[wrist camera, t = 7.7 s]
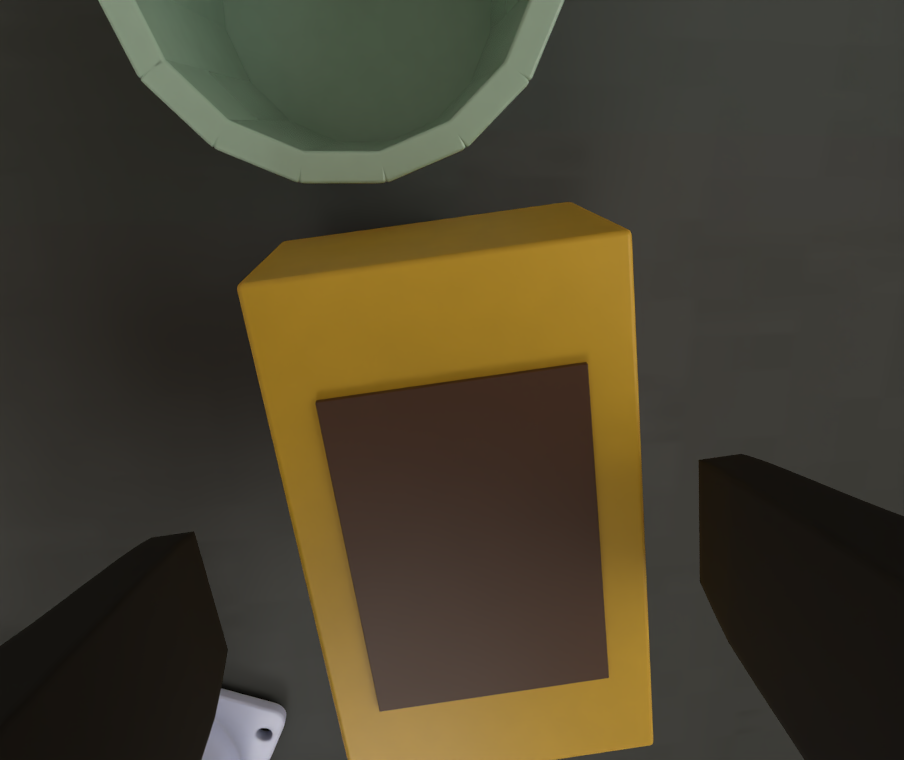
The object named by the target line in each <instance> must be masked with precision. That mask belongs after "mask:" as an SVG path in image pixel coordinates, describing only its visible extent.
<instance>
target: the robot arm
mask: <svg viewBox="0 0 904 760" xmlns="http://www.w3.org/2000/svg"><path fill="white" fill-rule="evenodd" d="M699 533H700V583H701V585H702V587H703V589H704V591H705V594H706V596H707V598H708V600H709V602H710V605H711V607H712V609H713V611H714V613H715V615H716V618H717V620H718V622H719V624H720V626H721V628H722V630H723V632H724V634H725V636H726V638H727V640H728V642H729V644H730V645H731V647H732V648H733V650H734V652H735V653H736V655H737V656H738V658H739V660H740V661H741V663H742V664H743V666H744V667H745V669H746V671H747V672H748V674H749V675H750V677H751V678H752V680H753V681H754V683H755V685H756V686H757V688H758V689H759V691H760V692H761V694H762V695H763V697H764V698H765V700H766V701H767V703H768V705H769V706H770V708H771V709H772V711H773V712H774V714H775V715H776V717H777V718H778V720H779V721H780V723H781V724H782V726H783V727H784V729H785V731H786V732H787V734H788V735H789V737H790V738H791V740H792V741H793V743H794V744H795V746H796V747H797V749H798V750H799V752H800V754H801V755H802V757H803V758H804V760H904V516H901V515H899V514H896V513H893V512H891V511H888V510H885V509H883V508H880V507H878V506H875V505H872V504H870V503H867V502H865V501H862V500H860V499H857V498H855V497H852V496H850V495H847V494H845V493H842V492H840V491H837V490H835V489H833V488H830V487H828V486H825V485H823V484H820V483H818V482H815V481H813V480H811V479H808V478H806V477H803V476H801V475H798V474H796V473H793V472H791V471H788V470H786V469H783V468H781V467H778V466H776V465H773V464H771V463H768V462H765V461H762V460H759V459H756V458H754V457H750V456H747V455H743V454H738V455H731V456H724V457H717V458H710V459H703V460H699ZM227 651H228V649H227V645H226V642H225V638H224V634H223V631H222V627H221V624H220V620H219V617H218V613H217V610H216V606H215V603H214V599H213V596H212V592H211V589H210V585H209V582H208V578H207V575H206V571H205V568H204V564H203V561H202V557H201V554H200V550H199V547H198V543H197V540H196V536H195V533H194V532H188V533H181V534H174V535H167V536H160V537H153V538H150V539H148V540H146V541H145V542H143V543H141V544H140V545H138V546H137V547H135V548H134V549H132V550H131V551H129V552H128V553H126V554H125V555H123V556H122V557H121V558H119V559H118V560H116V561H115V562H114V563H112V564H111V565H110V566H108V567H107V568H106V569H104V570H103V571H101V572H100V573H99V574H97V575H96V576H95V577H94V578H92V579H91V580H90V581H88V582H87V583H86V584H84V585H83V586H82V587H80V588H79V589H78V590H76V591H75V592H74V593H72V594H71V595H70V596H68V597H67V598H66V599H64V600H63V601H62V602H60V603H59V604H58V605H56V606H55V607H54V608H52V609H51V610H50V611H48V612H47V613H46V614H44V615H43V616H42V617H40V618H39V619H38V620H36V621H35V622H34V623H32V624H31V625H29V626H28V627H27V628H25V629H24V630H22V631H21V632H20V633H18V634H17V635H15V636H14V637H12V638H11V639H10V640H8V641H7V642H5V643H4V644H2V645H1V646H0V760H270V758H271V756H272V753H273V751H274V749H275V746H276V744H277V742H278V739H279V737H280V735H281V732H282V730H283V728H284V725H285V720H286V711H285V709H284V708H283V707H282V706H281V705H279V704H277V703H274V702H270V701H267V700H263V699H259V698H256V697H252V696H248V695H245V694H241V693H237V692H233V691H230V690H226V689H222V688H221V686H222V680H223V675H224V669H225V663H226V657H227ZM261 728H267V729H269V730H270V731H263V730H261Z"/></svg>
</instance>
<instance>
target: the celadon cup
mask: <svg viewBox="0 0 904 760" xmlns="http://www.w3.org/2000/svg"><path fill="white" fill-rule="evenodd" d="M98 1H99V3H100V5H101V7H102V9H103V11H104V13H105V15H106V17H107V19H108V21H109V23H110V24H111V26H112V28H113V30H114V32H115V34H116V36H117V38H118V40H119V42H120V44H121V46H122V47H123V49H124V51H125V53H126V55H127V57H128V59H129V61H130V63H131V65H132V67H133V68H134V70H135V72H136V74H137V76H138V77H139V78H141V81H142V83H143V84H144V85H146V86H147V87H148V88H149V89H150V90H151V91H152V92H153V93H154V94H155V95H156V96H157V97H158V98H159V99H161V100H162V101H163V102H164V103H165V104H166V105H167V106H168V107H169V108H170V109H171V110H172V111H173V112H174V113H176V114H177V115H178V116H179V117H180V118H181V119H182V120H183V121H184V122H185V123H186V124H187V125H188V126H189V127H191V128H192V129H193V130H194V131H195V132H196V133H197V134H198V135H199V136H200V137H201V138H202V139H203V140H204V141H206V142H207V143H208V144H209V145H210V146H212V147H214V148H215V149H216V150H218V151H220V152H223V153H225V154H228V155H230V156H233V157H235V158H238V159H240V160H242V161H245V162H247V163H250V164H252V165H255V166H257V167H259V168H262V169H264V170H267V171H269V172H272V173H274V174H277V175H279V176H281V177H284V178H286V179H289V180H291V181H294V182H300V183H303V184H365V183H385V182H386V181H387V182H391V181H393V180H396V179H398V178H400V177H402V176H405V175H407V174H409V173H412V172H414V171H416V170H419V169H421V168H423V167H426V166H428V165H430V164H432V163H435V162H437V161H439V160H442V159H444V158H446V157H449V156H451V155H453V154H456V153H458V152H460V151H462V150H464V149H465V146H466V147H468V146H470V145H471V144H472V143H473V142H474V141H475V140H476V139H477V138H478V136H479V135H480V134H481V133H482V132H483V131H484V130H485V129H486V128H487V127H488V126H489V125H490V124H491V123H492V122H493V121H494V120H495V119H496V118H497V117H498V116H499V115H500V114H501V113H502V111H503V110H504V109H505V108H506V107H507V106H508V105H509V104H510V103H511V102H512V101H513V100H514V99H515V98H516V97H517V96H518V95H519V94H520V93H521V92H522V91H523V90H524V89H525V88H526V86H527V85H528V83H529V81H530V80H531V79H532V78H533V75H534V73H535V70H536V68H537V66H538V63H539V61H540V59H541V56H542V54H543V51H544V49H545V47H546V44H547V42H548V39H549V37H550V35H551V32H552V30H553V27H554V25H555V23H556V20H557V18H558V15H559V13H560V11H561V8H562V6H563V3H564V1H565V0H98Z"/></svg>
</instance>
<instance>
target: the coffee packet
mask: <svg viewBox="0 0 904 760" xmlns="http://www.w3.org/2000/svg"><path fill="white" fill-rule="evenodd" d="M237 292H238V296H239V300H240V305H241V309H242V313H243V317H244V322H245V326H246V330H247V334H248V339H249V343H250V347H251V351H252V356H253V360H254V364H255V368H256V373H257V377H258V381H259V385H260V390H261V394H262V398H263V402H264V407H265V411H266V415H267V419H268V424H269V428H270V432H271V436H272V441H273V445H274V449H275V453H276V458H277V462H278V466H279V470H280V475H281V479H282V483H283V487H284V492H285V496H286V500H287V504H288V509H289V513H290V517H291V521H292V526H293V530H294V534H295V538H296V543H297V547H298V551H299V555H300V560H301V564H302V568H303V572H304V577H305V581H306V585H307V589H308V594H309V598H310V602H311V606H312V611H313V615H314V619H315V623H316V628H317V632H318V636H319V640H320V645H321V649H322V653H323V657H324V662H325V666H326V670H327V674H328V679H329V683H330V687H331V691H332V696H333V700H334V704H335V708H336V713H337V717H338V721H339V725H340V730H341V734H342V738H343V742H344V747H345V751H346V755H347V759H348V760H555V759H562V758H568V757H575V756H582V755H588V754H595V753H602V752H609V751H615V750H622V749H629V748H635V747H642V746H649V745H651V744H652V743H653V722H652V698H651V675H650V651H649V628H648V604H647V581H646V558H645V534H644V511H643V487H642V464H641V441H640V417H639V394H638V370H637V347H636V323H635V300H634V277H633V253H632V234H631V232H630V230H628V229H626V228H624V227H622V226H620V225H618V224H615V223H613V222H611V221H609V220H607V219H605V218H603V217H601V216H599V215H597V214H595V213H592V212H590V211H588V210H586V209H584V208H582V207H580V206H578V205H576V204H574V203H571V202H564V203H556V204H549V205H542V206H535V207H528V208H520V209H513V210H506V211H499V212H492V213H484V214H477V215H470V216H463V217H456V218H448V219H441V220H434V221H427V222H420V223H412V224H405V225H398V226H391V227H384V228H376V229H369V230H362V231H355V232H347V233H340V234H333V235H326V236H319V237H311V238H304V239H297V240H290V241H284V242H282V243H281V244H280V245H279V246H278V247H277V248H276V249H275V250H274V251H273V252H272V253H271V254H270V255H269V256H267V257H266V258H265V259H264V260H263V261H262V262H261V263H260V264H259V265H258V266H257V267H256V268H255V269H254V270H253V271H252V272H251V273H250V274H249V275H248V276H247V277H246V278H245V279H244V280H242V281H241V282H240V283H239V284H238V287H237Z"/></svg>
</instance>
